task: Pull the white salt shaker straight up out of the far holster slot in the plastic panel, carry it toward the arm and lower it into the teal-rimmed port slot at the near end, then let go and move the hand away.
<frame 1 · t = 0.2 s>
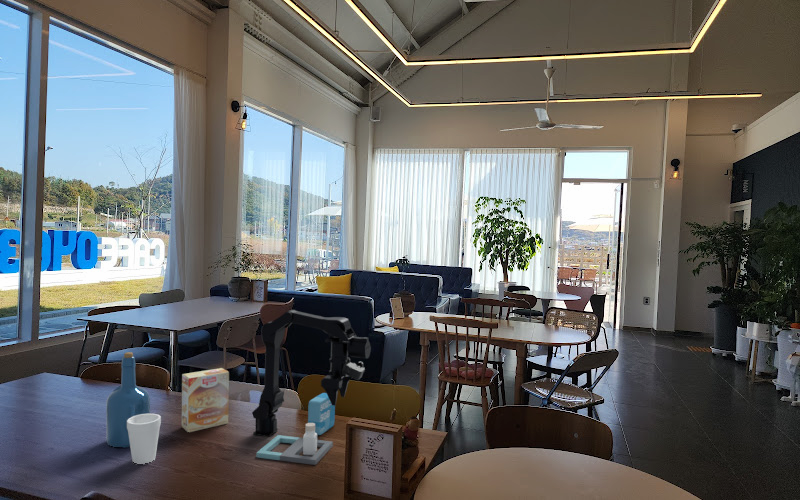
hand: (338, 401, 184), 14 cm above the table, tool pointing down, fingers open, 9 cm apart
white salt shaker: (310, 453, 175), resting in panel
panel: (295, 451, 176), on the table
foam cup: (144, 460, 167), on the table
wine bottle: (128, 441, 182), on the table
coffeecake box: (205, 425, 197), on the table
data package: (321, 430, 195), on the table
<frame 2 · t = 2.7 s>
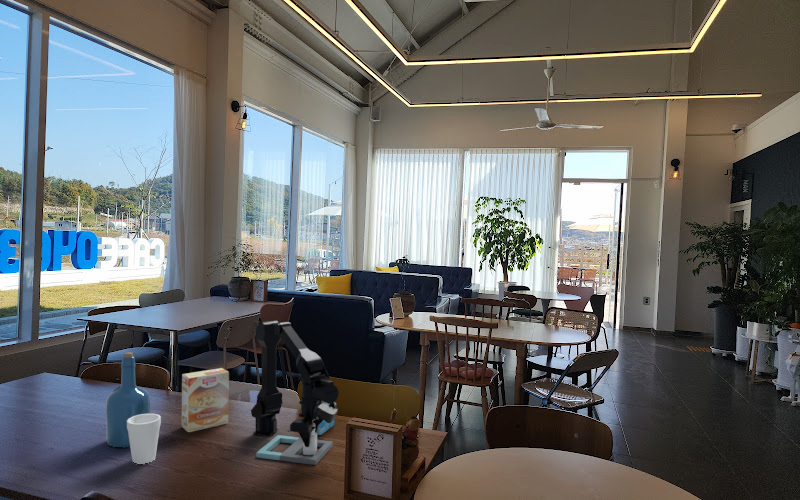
hand: (310, 444, 175), 3 cm above the table, tool pointing down, fingers closed on white salt shaker, 4 cm apart
white salt shaker: (310, 453, 175), resting in panel, touching gripper
everything else where it was.
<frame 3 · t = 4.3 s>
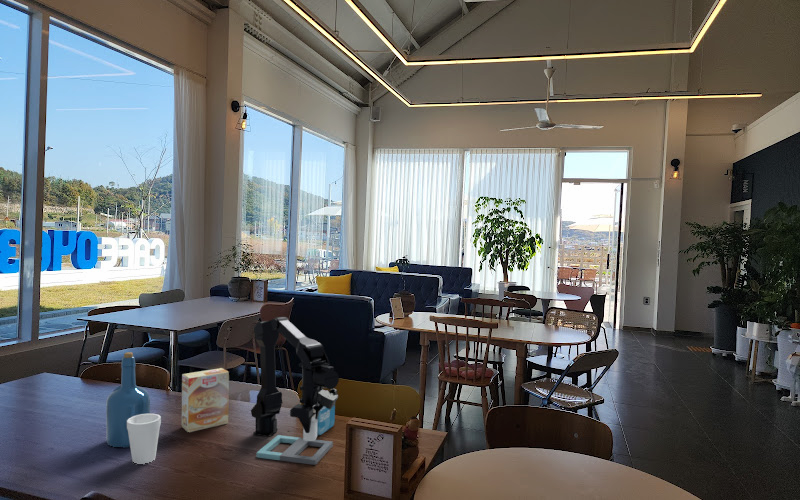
hand: (310, 430, 175), 8 cm above the table, tool pointing down, fingers closed on white salt shaker, 4 cm apart
white salt shaker: (310, 440, 175), point 4 cm above the table, touching gripper
everything else where it was.
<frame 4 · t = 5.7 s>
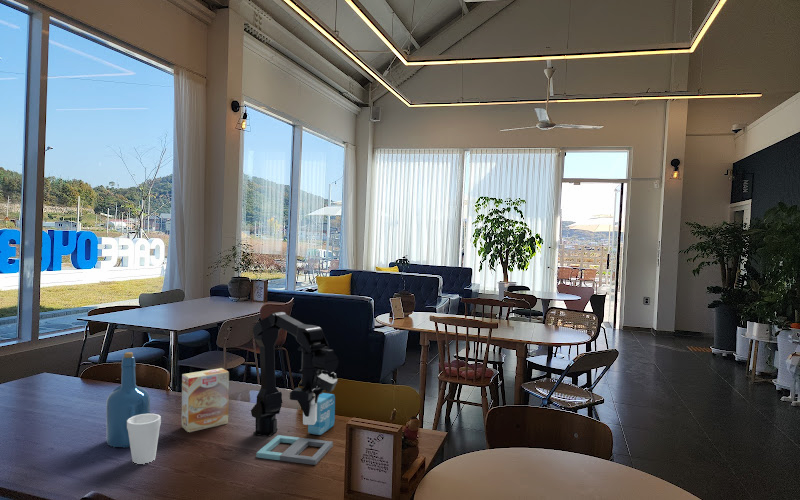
hand: (309, 414, 174), 13 cm above the table, tool pointing down, fingers closed on white salt shaker, 4 cm apart
white salt shaker: (309, 423, 175), point 10 cm above the table, touching gripper
everything else where it was.
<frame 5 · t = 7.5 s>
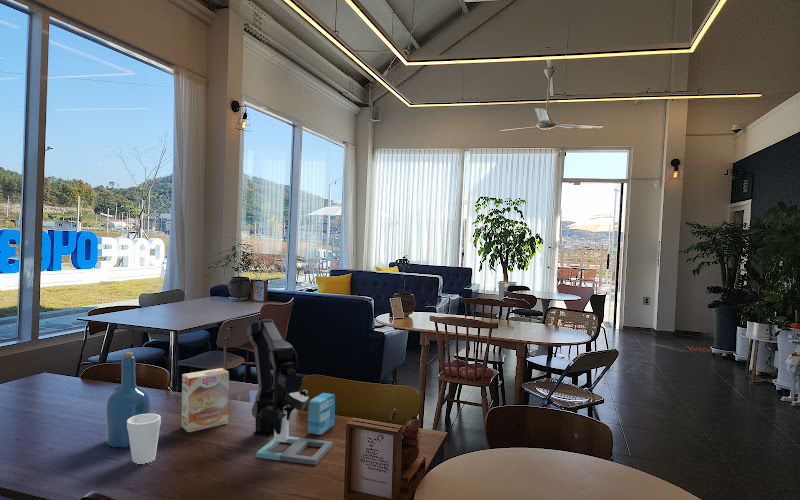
hand: (281, 431, 177), 6 cm above the table, tool pointing down, fingers closed on white salt shaker, 4 cm apart
white salt shaker: (281, 440, 177), point 3 cm above the table, touching gripper
everything else where it was.
when the fingers open (4 cm above the table, at t = 8.8 s): white salt shaker stays where it is, resting in panel.
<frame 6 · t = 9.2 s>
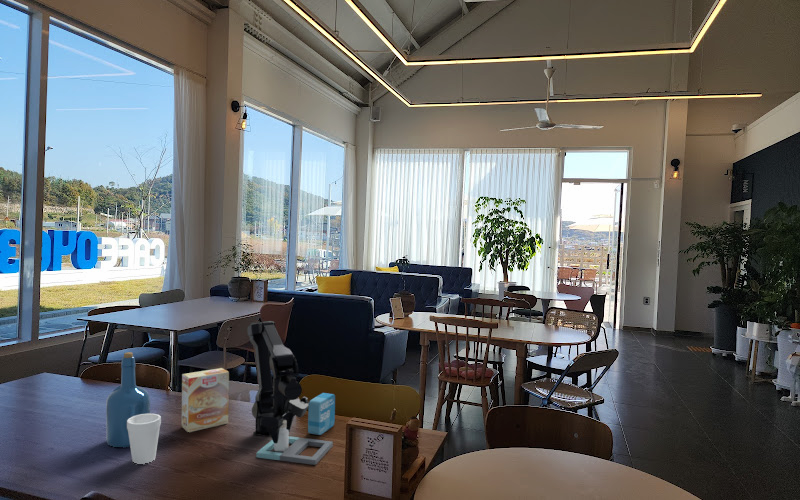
hand: (281, 438, 177), 4 cm above the table, tool pointing down, fingers open, 8 cm apart
white salt shaker: (281, 450, 177), resting in panel
everything else where it was.
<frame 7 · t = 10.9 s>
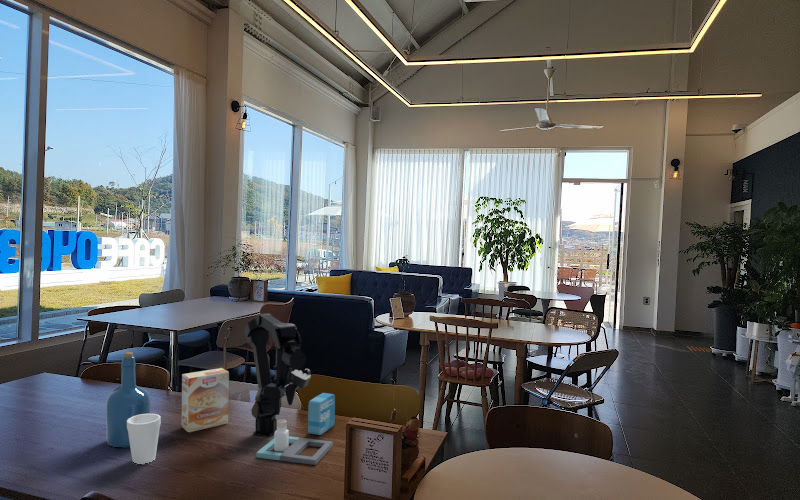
hand: (284, 409, 178), 13 cm above the table, tool pointing down, fingers open, 9 cm apart
nothing on the table moved.
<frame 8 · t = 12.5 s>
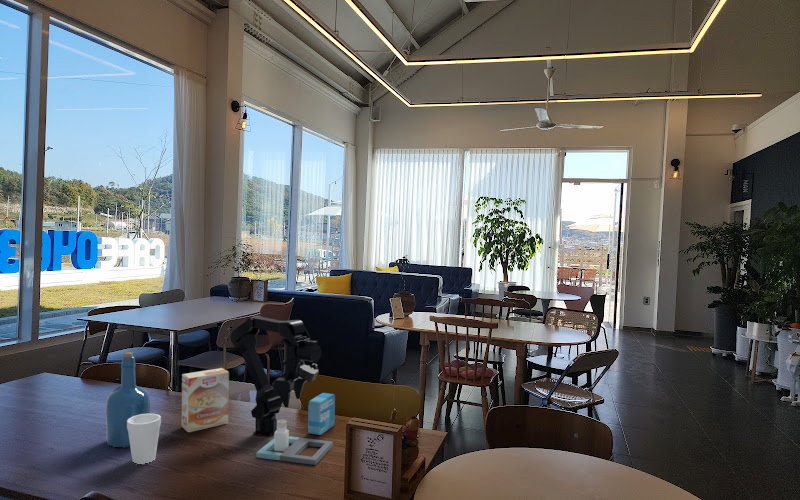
hand: (292, 402, 184), 13 cm above the table, tool pointing down, fingers open, 9 cm apart
nothing on the table moved.
at the end: white salt shaker 0.1 cm from the target spot on the panel, point 0.0 cm above the panel's base; white salt shaker tilted 0°; the gripper is holding nothing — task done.
